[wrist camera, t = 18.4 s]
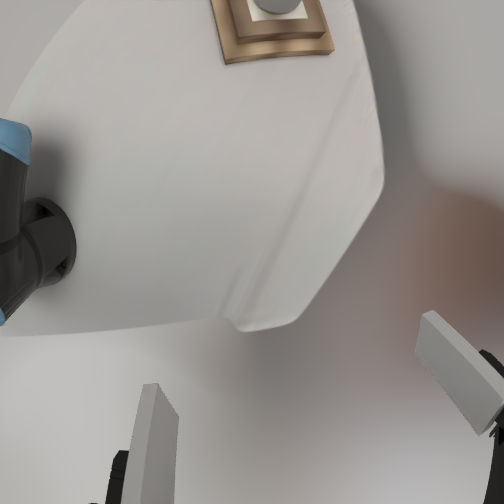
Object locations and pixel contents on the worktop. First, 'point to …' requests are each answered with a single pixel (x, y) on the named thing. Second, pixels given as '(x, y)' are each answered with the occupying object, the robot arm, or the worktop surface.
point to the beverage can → (278, 5)
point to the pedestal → (270, 30)
